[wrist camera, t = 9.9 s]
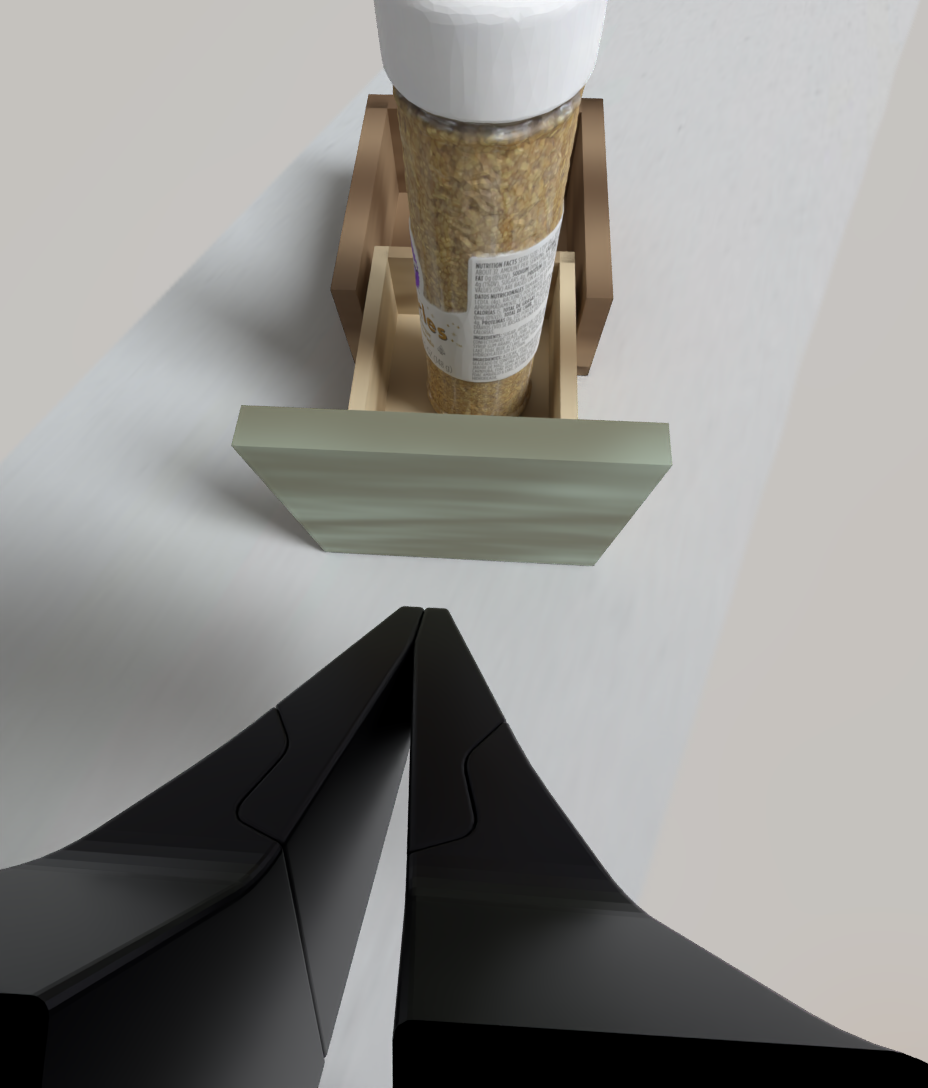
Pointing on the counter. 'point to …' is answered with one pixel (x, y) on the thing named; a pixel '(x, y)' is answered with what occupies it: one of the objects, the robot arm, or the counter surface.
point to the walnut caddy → (385, 215)
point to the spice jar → (486, 177)
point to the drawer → (455, 449)
